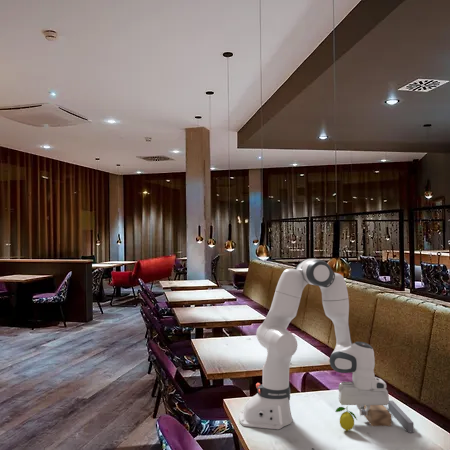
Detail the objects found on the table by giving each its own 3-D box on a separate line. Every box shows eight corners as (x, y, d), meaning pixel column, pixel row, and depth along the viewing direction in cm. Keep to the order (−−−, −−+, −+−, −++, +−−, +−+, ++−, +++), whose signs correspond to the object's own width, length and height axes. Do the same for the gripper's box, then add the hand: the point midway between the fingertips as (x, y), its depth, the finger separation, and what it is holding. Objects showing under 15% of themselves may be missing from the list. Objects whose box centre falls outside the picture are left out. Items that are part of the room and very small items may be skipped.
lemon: (335, 428, 178) (335, 403, 178) (347, 426, 180) (347, 401, 180) (345, 436, 171) (345, 410, 171) (357, 433, 173) (358, 408, 173)
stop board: (408, 432, 174) (408, 422, 174) (388, 409, 196) (388, 400, 196) (413, 432, 174) (413, 422, 174) (392, 409, 196) (392, 400, 196)
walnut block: (371, 426, 180) (371, 414, 180) (364, 416, 190) (364, 404, 190) (391, 427, 180) (391, 414, 180) (382, 416, 190) (382, 404, 190)
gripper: (340, 384, 182) (340, 418, 182) (390, 384, 182) (390, 418, 182) (336, 379, 189) (336, 411, 189) (385, 379, 188) (385, 411, 188)
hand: (363, 414), depth 185 cm, fingers closed
